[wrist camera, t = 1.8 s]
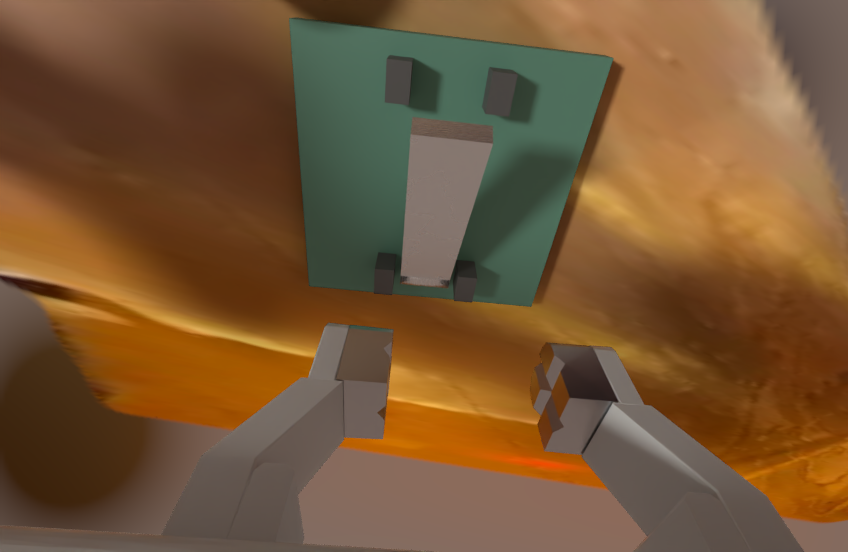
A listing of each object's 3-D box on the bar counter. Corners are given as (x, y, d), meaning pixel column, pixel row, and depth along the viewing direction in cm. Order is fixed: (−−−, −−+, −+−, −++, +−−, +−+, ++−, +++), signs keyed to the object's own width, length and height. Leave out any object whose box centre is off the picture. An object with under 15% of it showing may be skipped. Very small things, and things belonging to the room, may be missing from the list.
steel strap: (401, 268, 34) (399, 287, 33) (413, 112, 20) (410, 139, 19) (447, 273, 34) (446, 291, 34) (492, 121, 20) (493, 148, 19)
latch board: (313, 276, 36) (301, 303, 33) (296, 17, 25) (275, 19, 22) (528, 296, 37) (537, 325, 34) (604, 55, 26) (630, 63, 23)
